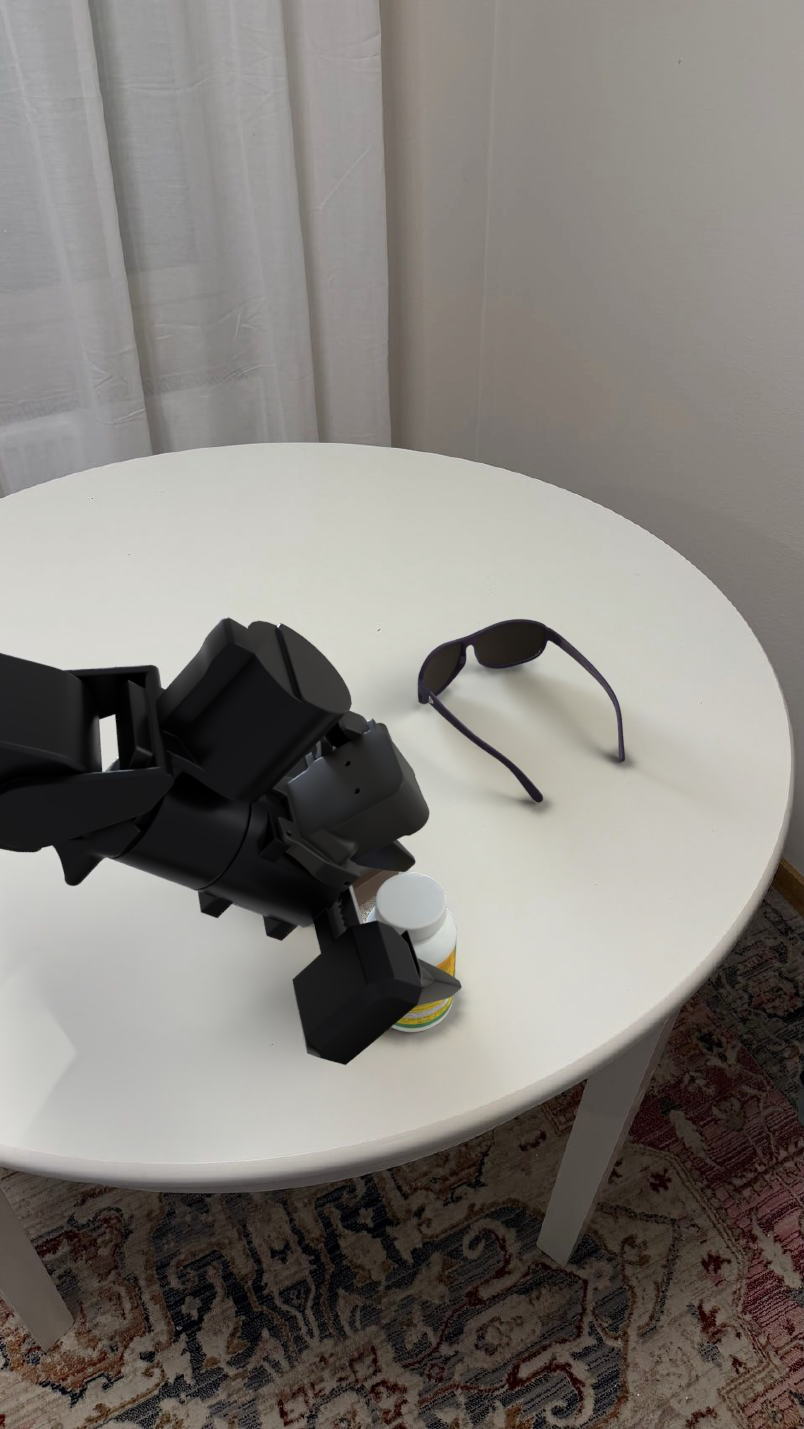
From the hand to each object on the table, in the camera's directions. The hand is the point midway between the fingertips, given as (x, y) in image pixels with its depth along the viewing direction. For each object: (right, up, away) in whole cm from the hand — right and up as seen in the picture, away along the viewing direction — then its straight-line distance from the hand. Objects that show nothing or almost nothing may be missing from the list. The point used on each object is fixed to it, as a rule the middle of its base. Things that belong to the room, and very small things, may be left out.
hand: (431, 923), depth 58 cm
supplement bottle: (-1, -6, +4) cm, 7 cm away
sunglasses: (+8, +11, +23) cm, 27 cm away
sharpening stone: (-8, +3, +14) cm, 16 cm away
